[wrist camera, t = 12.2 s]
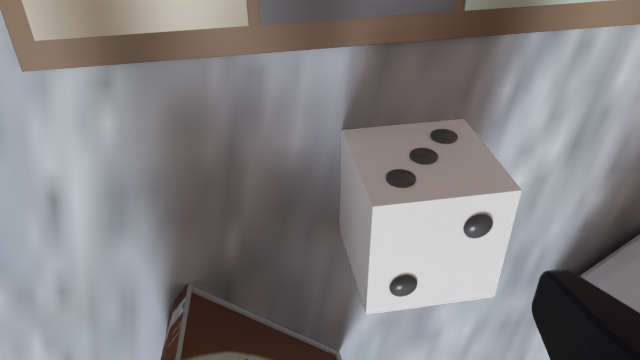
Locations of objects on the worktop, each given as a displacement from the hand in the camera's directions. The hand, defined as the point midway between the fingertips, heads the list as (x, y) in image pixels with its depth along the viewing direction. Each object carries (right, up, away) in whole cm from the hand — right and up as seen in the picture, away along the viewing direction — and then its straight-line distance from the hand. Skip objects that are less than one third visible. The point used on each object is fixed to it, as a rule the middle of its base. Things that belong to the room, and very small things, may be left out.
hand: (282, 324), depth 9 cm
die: (+4, +3, +14) cm, 15 cm away
